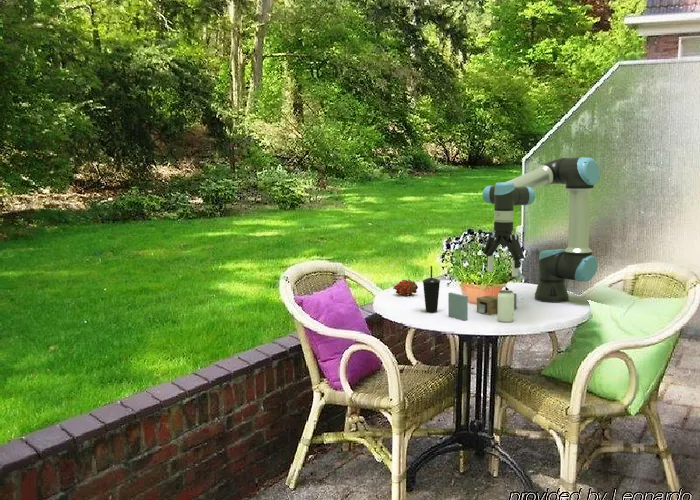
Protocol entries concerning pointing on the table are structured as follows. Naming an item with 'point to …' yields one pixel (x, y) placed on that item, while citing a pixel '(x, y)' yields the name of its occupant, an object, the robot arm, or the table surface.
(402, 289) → the red pine cone
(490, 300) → the tan wooden block
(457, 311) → the end plate
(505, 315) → the can
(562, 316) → the table surface
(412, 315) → the table surface
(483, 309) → the shaft
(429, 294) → the drinking cup
